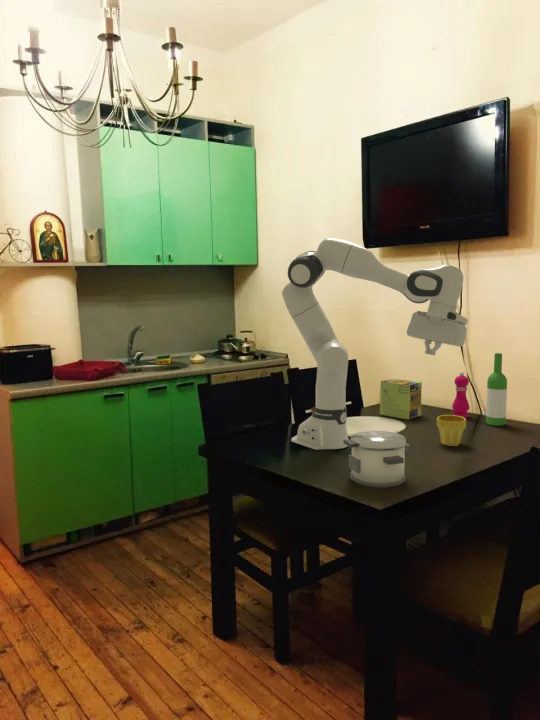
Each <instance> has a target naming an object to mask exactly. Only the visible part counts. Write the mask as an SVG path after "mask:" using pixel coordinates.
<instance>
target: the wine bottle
mask: <svg viewBox="0 0 540 720" xmlns="http://www.w3.org/2000/svg"><path fill="white" fill-rule="evenodd" d="M493 357H494V361H493V372H492V373H490V374H489V376H488V377H487V380H486V381H487V382H486V386H487V387H486V400H485V401H486V403H485V406H486V407H485V423H486V424H487V425H489V426H492V425H493V426H494V427H501V426H505V425H506V419H507V398H508V397H507V394H508V378H507V377H506V375H505V374H504V373H503V372H502V370H503V369H502V367H503V366H502V365H503V353H501V352H495V353H494V356H493ZM493 426H492V427H493Z"/></svg>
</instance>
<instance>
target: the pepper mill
mask: <svg viewBox="0 0 540 720" xmlns="http://www.w3.org/2000/svg"><path fill="white" fill-rule="evenodd" d="M469 383H470V380H469V378H468V377H467V376H465V373H464V372H463V371H461V372H459V375H458V376H456V377H455V378H454V385H455V390H456V396H455V399H454V400H453V403H452V404H451V407H452V408H451V409H452V410H453V412H452V415H456V416H461V417H464V418H465V419H467V418H468V417H469V413H468V411H469V410H470V403H469V401H468V398H467V391H468V385H469Z"/></svg>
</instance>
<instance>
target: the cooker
mask: <svg viewBox="0 0 540 720" xmlns="http://www.w3.org/2000/svg"><path fill="white" fill-rule="evenodd" d="M411 447H412V446H411V444H409V443H407V442H406V445H405V446H404V447H402V448H399V449H395V450H368V449H363V448H359V447H351V454H348V468H349V469H350V470H351V471H349V474H350V480H351V481H352V482H354V483H355V484H357V485H360V486H364V487H368V488H379V489H381V488H382V489H384V488H385V489H387V488H394V487H399V486H401V485H403V484H404V483H405V482H406V473H405V459H406V457H405V453H406V452H408V451H411Z"/></svg>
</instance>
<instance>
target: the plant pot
mask: <svg viewBox="0 0 540 720" xmlns="http://www.w3.org/2000/svg"><path fill="white" fill-rule="evenodd" d="M436 427H437V428H438V433H439V437H440V442H441V445H444V446H447V447H448V446H449V447H456V446H457V447H458V446H459V445H460V444H461V441H462V437H463V434H464V433H463V432H464V430H465V429H466V427H467V418H464V417H461V416H456V415H453V414H442V415H439V416H437V418H436Z"/></svg>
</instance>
